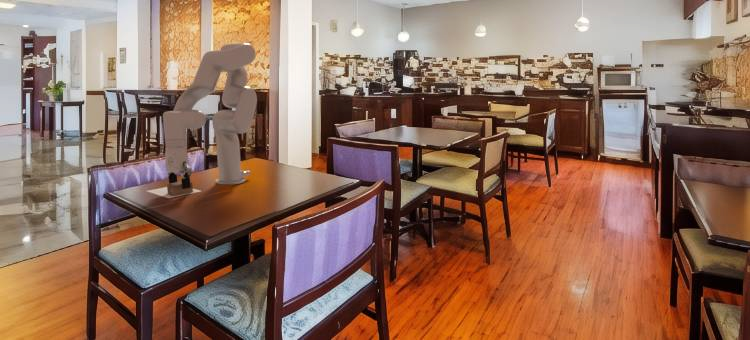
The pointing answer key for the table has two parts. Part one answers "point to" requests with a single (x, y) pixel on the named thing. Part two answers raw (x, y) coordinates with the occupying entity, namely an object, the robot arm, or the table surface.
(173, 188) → the brown block
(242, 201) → the table surface
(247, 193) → the table surface
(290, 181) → the table surface
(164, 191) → the mat
